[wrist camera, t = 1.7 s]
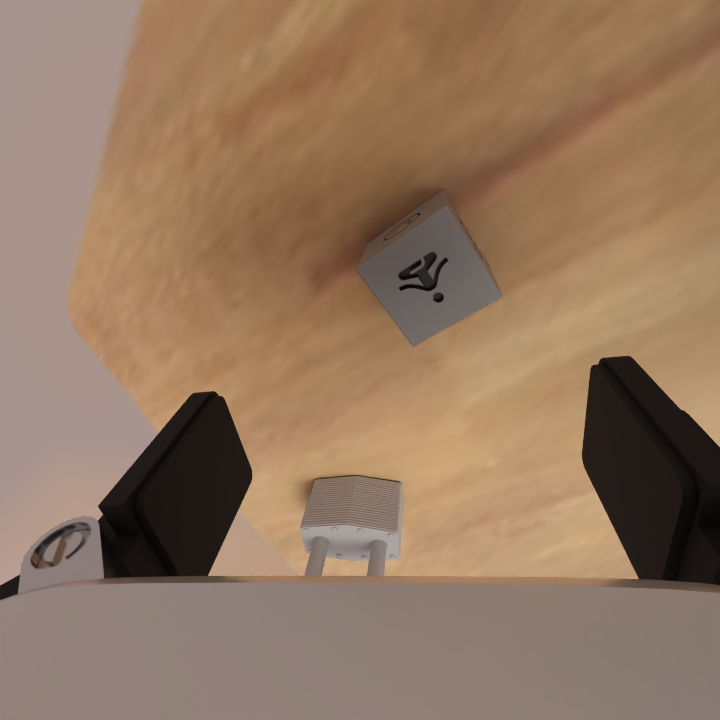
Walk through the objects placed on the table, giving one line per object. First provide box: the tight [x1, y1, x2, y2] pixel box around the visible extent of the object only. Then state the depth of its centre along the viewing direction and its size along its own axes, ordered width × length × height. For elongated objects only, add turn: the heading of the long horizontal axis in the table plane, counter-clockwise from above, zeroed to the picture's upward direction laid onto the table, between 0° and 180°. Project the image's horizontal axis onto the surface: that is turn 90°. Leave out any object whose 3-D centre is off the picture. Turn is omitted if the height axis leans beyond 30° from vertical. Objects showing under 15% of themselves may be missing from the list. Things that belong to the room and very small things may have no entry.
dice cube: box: [356, 189, 502, 346], centre depth 22 cm, size 5×5×5 cm
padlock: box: [300, 476, 403, 576], centre depth 30 cm, size 7×4×10 cm, turn 95°
